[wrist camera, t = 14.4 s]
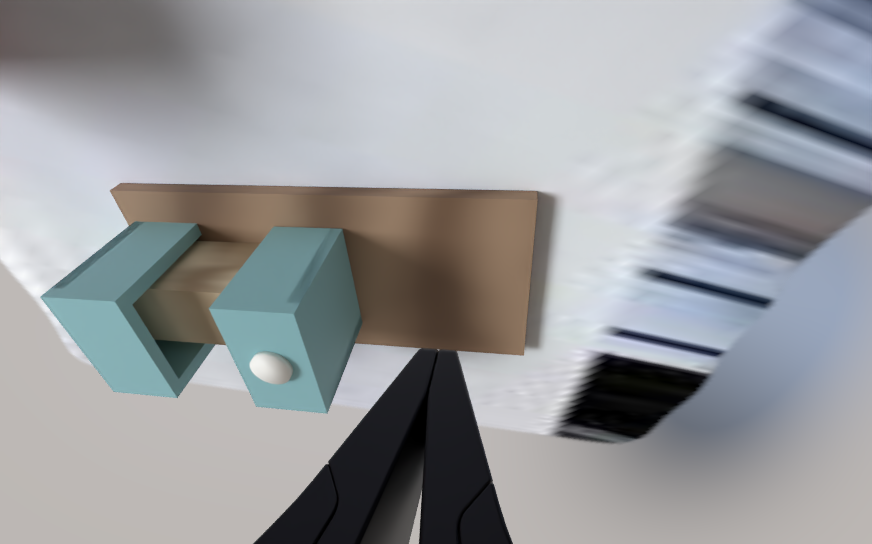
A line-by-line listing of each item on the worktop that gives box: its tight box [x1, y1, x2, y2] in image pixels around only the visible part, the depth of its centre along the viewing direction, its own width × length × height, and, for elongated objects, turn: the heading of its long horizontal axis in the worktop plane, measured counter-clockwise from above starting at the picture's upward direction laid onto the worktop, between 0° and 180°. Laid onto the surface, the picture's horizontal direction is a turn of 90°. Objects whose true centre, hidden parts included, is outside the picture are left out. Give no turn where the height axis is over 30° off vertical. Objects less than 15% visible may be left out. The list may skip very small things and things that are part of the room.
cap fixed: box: [41, 221, 215, 398], centre depth 23 cm, size 4×6×6 cm, turn 3°
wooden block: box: [132, 241, 260, 345], centre depth 23 cm, size 10×4×4 cm, turn 93°
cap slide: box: [209, 227, 363, 413], centre depth 22 cm, size 4×6×6 cm, turn 3°
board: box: [110, 183, 538, 355], centre depth 25 cm, size 21×10×1 cm, turn 93°
